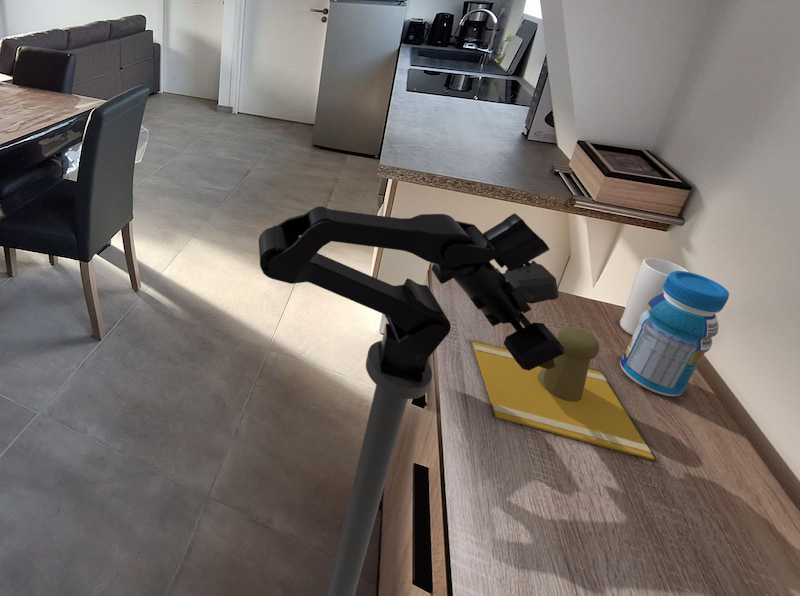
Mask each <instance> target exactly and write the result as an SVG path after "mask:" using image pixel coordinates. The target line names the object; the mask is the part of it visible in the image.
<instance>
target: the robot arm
mask: <svg viewBox="0 0 800 596" xmlns="http://www.w3.org/2000/svg"><path fill="white" fill-rule="evenodd" d="M331 242H334V243H342V244H348V245H349V244H350V245H357V246H364V247H372V248H379V249H386V250H396V251H403V252H406V253H410V254H413V255H414V256H416V257H418V258H420V259H422V260H423V261H426V262H429V263H431V264H432V267H431V271H432V272H433V274H434V276H435V277H436V279H437V280H438V282H439V283H440V284H442V285H443V284H445V283H447V282H448V281H451V280H454V282H456V284H457V285H458V286H459V288H461V289H462V290H463V292H464V293H465V294H466V295H467V296H468V297H469V300H471V302H472V304H473V305H474V306H475V307H476V309H477V310H480V312H481V313H482V314H483V315H484V317H485V318H486V320H487V321H488V323H489V324H490V325H491V326H492V327H496V326H497V325H499V324H502V325H503V324H510V325H511V326H512V327H513V329H514V330H515V331H514V332H513V333H511V334H509V335H507V336H505V338H504V341H503V345H504V346H505V348H506V350H508V351H509V352H510V354H511V355H512V356H513V358H514V359H515V361H516V362H517V363H518V364H519V365H520V367H521V368H522V369H524V370H528V371H529V370H531V369H533V368H535V367H538V366H539V367H542V368H546V369H551V368H553V367H555V363H554V360H553V359H554V358H556V357H558V356H560V355H563V354H564V351H565V348H564V347H563V346H562V344H561V343H560V342H559V341H558V340H557V336H555V335H554V334H553V332H552V331H551V330H550V329H549V328H548V327H547V326H546V324H545V323H543V322H536V321H535V322H532V323H531V322H530V321H529V319H528V318H527V316H526V315H525V313H528V312H530V311H532V310H533V309H532V307H531V306H530V305H529V304H537V303H541V302H546V301H548V300H550V301H554V300H557V299H559V297H560V294H559V288H558V282H557V278H556V277H555V276H554V275H553V274H552V273H551V272H550V271H549V270H548V269H547V268H546V267H545V266H544V265H543V264H540V263H537V262H536V261H535V259H536V258H538V257H540V256H541V255H543V254H546V253H547V252H549V251H550V250H551V249H550V247H549V246H548V244H547V243H546V241H545V240H544V239H543V238H541V237H540V236H539V235H538V234H537V233H536V232H535V231H533V229H532V228H530V226H529V225H528V224H527V223H526V222H525V220H524V219H523V218H522V217H520V216H519V214H517V213H513V214H511V215H509V216H508V217H506V218H505V219H504V220H503V221H501V222H500V223H497V224H496V225H494V226H493V227H491V228H490V229H487V230H486V231H484V232H482V231H481V230H480V229H479V228H478V227H477V226H476V225H475V224H473V223H469V222H464V221H459V220H456V219H455V218H454V217H452V216H451V215H448V214H446V213H422V214H418V215H415V216H413V217H409V218H408V217H407V218H402V217H401V218H400V217H393V216H386V215H376V214H369V213H360V212H355V211H354V212H353V211H347V210H346V211H345V210H338V209H331V208H328V207H326V206H321V205H320V206H316V207H313V208H311V209H310V210H308V211H307V212H305V213H303V214H299V215H297V216H292V217H289V218H286V219H285V220H284V221H282V222H280V223H279V224H277V225H272V227H268V228H266V229H264V231H262V232H261V233H260V235H259V237H258V255H259V267H260V270H261V271H262V274H263V275H264V276H265V277H267V278H269V279H272V280H275V281H279V282H283V283H285V284H290V285H293V284H301V283H309V284H311V285H314V286H315V287H316V286H317V287H319V288H321V289H324V290H326V291H329V292H331V293H333V294H335V295H338V296H340V297H342V298H345V299H347V300H349V301H351V302H354V303H356V304H359V305H361V306H363V307H366V308H369V309H371V310H373V311H374V312H375V311H376V312H378V313H380V314H383V315H384V317H385V318H386V320H387V323H385V326H384V331H383V335H382V339H381V341H382V343H379V345H378V347H379V365H380V371H381V372H382V373H386V374H389V375H393V376H397V377H401V378H404V379H408V380H412V381H416V382H419V383H421V382H422V380H423V378H422V372H425V369H426V365H427V362H428V361H429V358H430V356H431V355H432V354H433V353H434V352H435V350H436V349H437V348H438V347H439V346H440V345H441V344H442V342H443V341H444V340H445V339H446V337H447V336H448V335H449V333H450V332H451V327H452V326H451V322H450V320H449V318H448V317H447V315H446V314H445V311H444V310H443V308H442V306H441V305H440V303H439V302H438V300H437V298H436V296H435V295H434V293H433V292H432V291H431V289H430V288H429V286H428V285H427V284H420V283H417V282H416V281H414V280H412V279H411V278H406V279H405V281H404V283H403V284H399V285H393V284H390V283H388V282H386V281H383V280H381V279H379V278H376V277H374V276H371V275H369V274H367V273H364V272H362V271H360V270H357V269H355V268H353V267H351V266H349V265H347V264H344V263H341V262H339V261H337V260H335V259H333V258H330V257H327V256H325V255H323V254H321V253H319V251H320V250H321V249H322V248H323V247H324V246H326V245H328V244H330V243H331ZM492 261H495V263H496V264H497V265H498V266H499V267H500V268H501V269H502V268H506V270H505V271H504V272H503V273H502V272H501V271H500V269H499V268H497V267H495V265H494V264H492V263H491V262H492ZM530 261H531V262H530ZM522 325H523V326H522ZM428 363H429V362H428Z"/></svg>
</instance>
